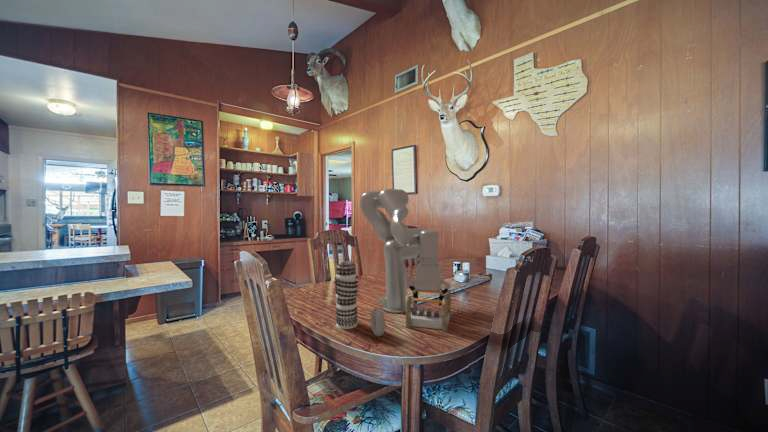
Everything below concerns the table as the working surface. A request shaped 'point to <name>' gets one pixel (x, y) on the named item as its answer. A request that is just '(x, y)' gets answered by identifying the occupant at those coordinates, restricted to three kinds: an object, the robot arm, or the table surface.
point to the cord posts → (445, 310)
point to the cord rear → (428, 291)
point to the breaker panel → (427, 318)
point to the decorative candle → (346, 295)
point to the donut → (377, 322)
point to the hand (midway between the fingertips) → (428, 303)
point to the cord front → (426, 300)
